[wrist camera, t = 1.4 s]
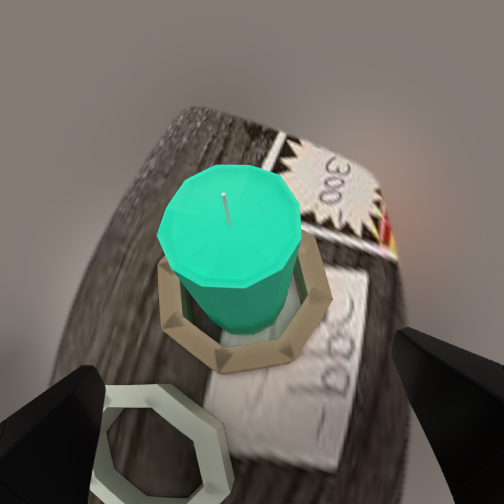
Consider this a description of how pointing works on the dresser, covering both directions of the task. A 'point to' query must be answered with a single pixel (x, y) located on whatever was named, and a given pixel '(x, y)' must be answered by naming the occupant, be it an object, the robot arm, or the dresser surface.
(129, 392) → the socket
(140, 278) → the dresser surface
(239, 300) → the candle
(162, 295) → the socket
